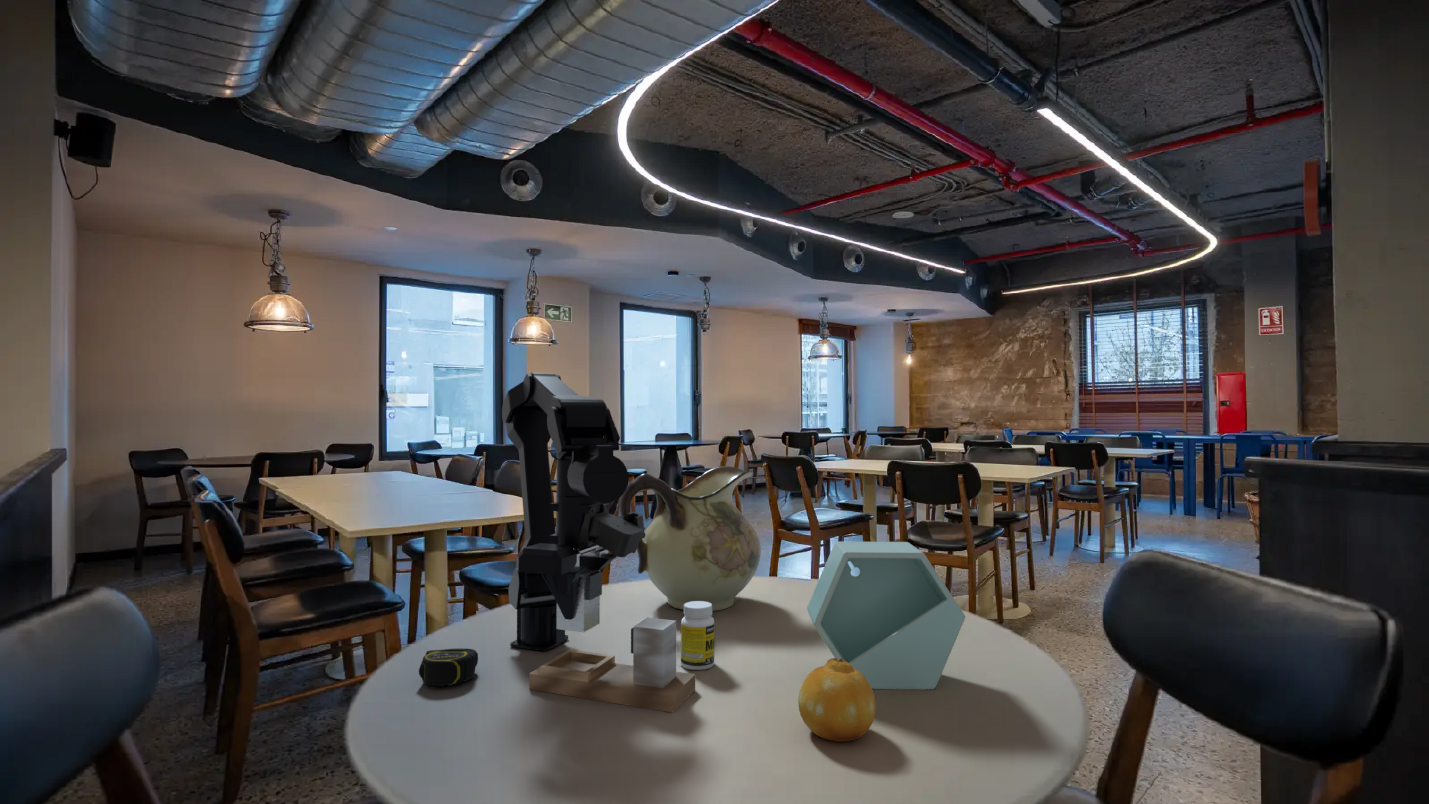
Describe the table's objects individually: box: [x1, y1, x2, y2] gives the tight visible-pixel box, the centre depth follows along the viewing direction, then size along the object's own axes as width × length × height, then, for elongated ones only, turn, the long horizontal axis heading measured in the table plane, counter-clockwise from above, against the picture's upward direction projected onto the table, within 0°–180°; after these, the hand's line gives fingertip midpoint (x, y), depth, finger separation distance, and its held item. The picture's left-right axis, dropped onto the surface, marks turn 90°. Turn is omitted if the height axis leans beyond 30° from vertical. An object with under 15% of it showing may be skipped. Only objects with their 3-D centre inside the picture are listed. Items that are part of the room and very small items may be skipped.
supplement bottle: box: [680, 601, 715, 671], centre depth 96 cm, size 5×5×8 cm
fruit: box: [797, 657, 877, 742], centre depth 75 cm, size 8×8×8 cm
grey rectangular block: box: [557, 569, 603, 633], centre depth 89 cm, size 4×5×7 cm
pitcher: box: [619, 465, 762, 612], centre depth 127 cm, size 22×24×25 cm
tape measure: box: [418, 647, 479, 687], centre depth 90 cm, size 7×7×4 cm
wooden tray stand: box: [528, 617, 696, 713], centre depth 87 cm, size 20×7×9 cm, turn 70°
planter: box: [806, 541, 966, 691], centre depth 91 cm, size 17×8×21 cm
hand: (577, 614), depth 89 cm, fingers closed on grey rectangular block, 4 cm apart
